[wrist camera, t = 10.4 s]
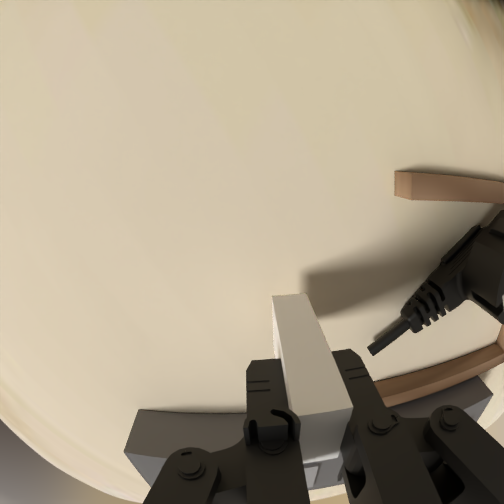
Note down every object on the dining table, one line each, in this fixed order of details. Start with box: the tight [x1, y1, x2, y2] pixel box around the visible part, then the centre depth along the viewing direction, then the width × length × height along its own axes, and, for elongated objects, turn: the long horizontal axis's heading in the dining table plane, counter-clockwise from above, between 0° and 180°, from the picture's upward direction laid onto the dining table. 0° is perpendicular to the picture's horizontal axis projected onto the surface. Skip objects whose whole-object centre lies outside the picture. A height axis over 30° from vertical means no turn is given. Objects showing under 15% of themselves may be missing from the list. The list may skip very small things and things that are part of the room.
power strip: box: [124, 375, 493, 490], centre depth 15 cm, size 6×26×4 cm, turn 93°
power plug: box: [367, 210, 504, 356], centre depth 10 cm, size 6×8×12 cm
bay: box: [374, 171, 504, 407], centre depth 13 cm, size 14×14×2 cm
